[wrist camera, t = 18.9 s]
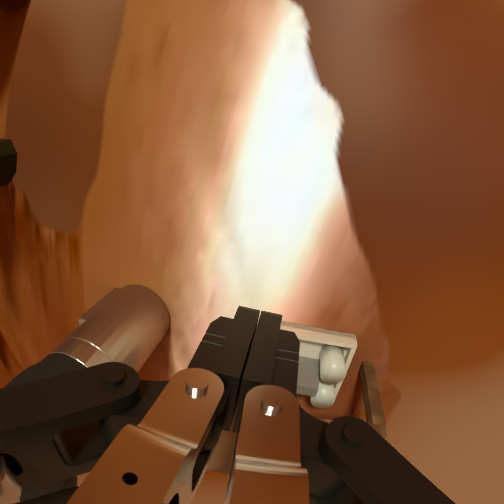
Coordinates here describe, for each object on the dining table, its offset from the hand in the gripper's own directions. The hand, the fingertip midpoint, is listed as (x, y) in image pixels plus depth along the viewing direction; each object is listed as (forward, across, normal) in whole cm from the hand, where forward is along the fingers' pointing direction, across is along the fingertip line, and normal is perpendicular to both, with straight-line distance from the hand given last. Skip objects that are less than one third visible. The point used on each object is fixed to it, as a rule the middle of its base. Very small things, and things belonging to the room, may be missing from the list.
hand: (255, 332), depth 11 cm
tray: (+27, -6, +21) cm, 35 cm away
